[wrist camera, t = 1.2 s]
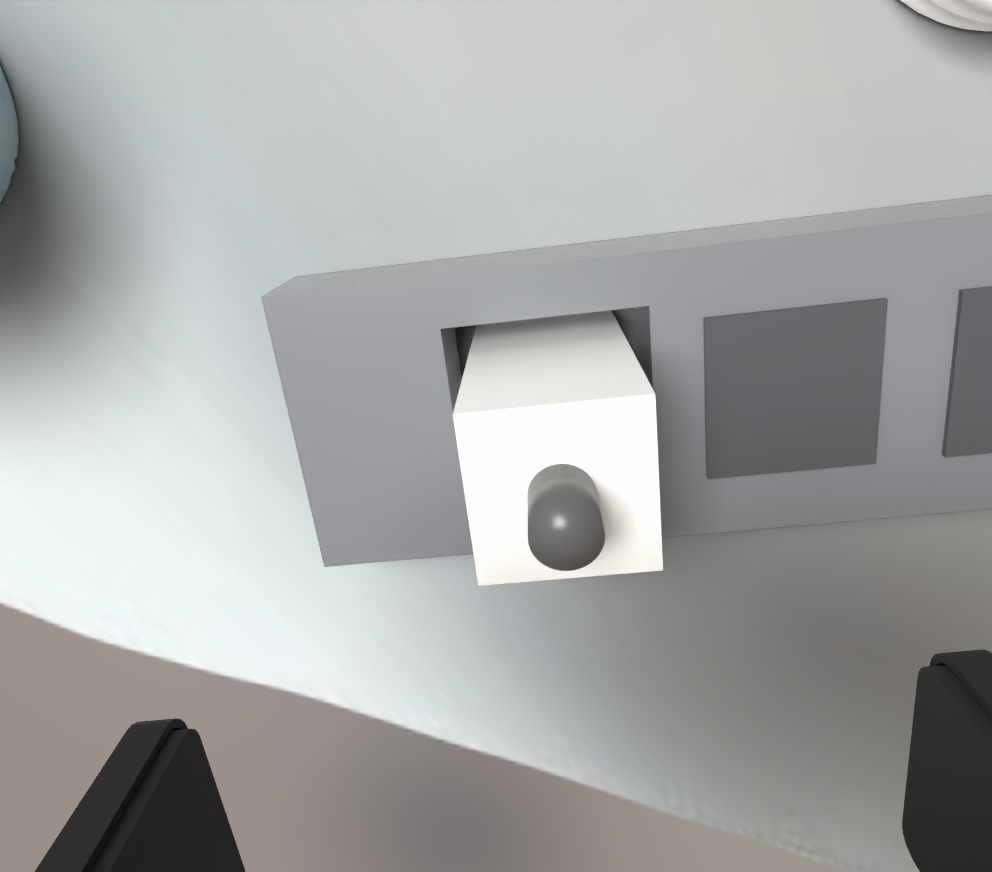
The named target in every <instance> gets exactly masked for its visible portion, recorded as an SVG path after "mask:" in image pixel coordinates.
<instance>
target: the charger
mask: <svg viewBox="0 0 992 872" xmlns="http://www.w3.org/2000/svg"><path fill="white" fill-rule="evenodd" d="M453 420H454V427H455V433H456V440H457V447H458V453H459V460H460V467H461V473H462V480H463V487H464V494H465V500H466V507H467V514H468V520H469V527H470V534H471V540H472V547H473V554H474V560H475V567H476V574H477V580H478V586H482V585H494V584H506V583H518V582H530V581H542V580H554V579H566V578H578V577H590V576H602V575H614V574H626V573H638V572H650V571H662V570H663V557H662V534H661V512H660V489H659V466H658V444H657V421H656V398H655V392H654V390H653V389H652V387H651V385H650V383H649V381H648V379H647V377H646V375H645V373H644V371H643V370H642V368H641V366H640V364H639V362H638V360H637V358H636V356H635V354H634V352H633V350H632V349H631V347H630V345H629V343H628V341H627V339H626V337H625V335H624V333H623V331H622V330H621V328H620V326H619V324H618V322H617V320H616V318H615V316H614V314H613V312H612V311H611V310H608V311H599V312H590V313H581V314H572V315H562V316H553V317H544V318H535V319H526V320H517V321H508V322H499V323H490V324H481V325H476V328H475V332H474V336H473V339H472V343H471V347H470V351H469V355H468V358H467V362H466V366H465V370H464V374H463V377H462V381H461V385H460V389H459V392H458V396H457V400H456V404H455V408H454V411H453Z"/></svg>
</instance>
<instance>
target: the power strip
mask: <svg viewBox="0 0 992 872" xmlns="http://www.w3.org/2000/svg"><path fill="white" fill-rule="evenodd" d="M261 299H262V303H263V307H264V311H265V316H266V320H267V324H268V328H269V333H270V337H271V341H272V345H273V350H274V354H275V358H276V363H277V367H278V371H279V375H280V380H281V384H282V388H283V392H284V397H285V401H286V405H287V409H288V414H289V418H290V422H291V426H292V431H293V435H294V439H295V443H296V448H297V452H298V456H299V461H300V465H301V469H302V473H303V478H304V482H305V486H306V490H307V495H308V499H309V503H310V507H311V512H312V516H313V520H314V524H315V529H316V533H317V537H318V541H319V546H320V550H321V554H322V559H323V563H324V567H328V566H340V565H351V564H363V563H374V562H386V561H397V560H409V559H421V558H432V557H444V556H455V555H467V554H473V547H472V540H471V534H470V527H469V520H468V514H467V507H466V500H465V494H464V487H463V480H462V473H461V467H460V460H459V453H458V447H457V440H456V433H455V427H454V420H453V411H454V408H455V404H456V400H457V396H458V392H459V389H460V385H461V381H462V376H461V369H460V362H459V355H458V348H457V341H456V334H455V327H463V326H472V325H481V324H490V323H499V322H508V321H517V320H526V319H535V318H544V317H553V316H562V315H572V314H581V313H590V312H599V311H608V310H617V309H626V308H634V323H635V342H636V358H637V360H638V362H639V364H640V366H641V368H642V370H643V371H644V373H645V375H646V377H647V379H648V381H649V383H650V385H651V387H652V389H653V390H654V392H655V398H656V421H657V444H658V466H659V489H660V512H661V534H662V538H663V537H674V536H686V535H697V534H709V533H720V532H732V531H743V530H755V529H766V528H778V527H789V526H801V525H812V524H824V523H835V522H847V521H858V520H870V519H882V518H893V517H905V516H916V515H928V514H939V513H951V512H962V511H974V510H985V509H992V195H986V196H977V197H969V198H960V199H952V200H943V201H935V202H926V203H918V204H909V205H901V206H892V207H884V208H875V209H867V210H858V211H850V212H841V213H833V214H824V215H816V216H807V217H799V218H790V219H782V220H773V221H765V222H756V223H748V224H739V225H731V226H722V227H714V228H705V229H697V230H688V231H680V232H671V233H663V234H654V235H646V236H637V237H629V238H620V239H612V240H603V241H595V242H586V243H578V244H569V245H561V246H552V247H544V248H535V249H527V250H518V251H510V252H501V253H493V254H484V255H476V256H467V257H459V258H450V259H442V260H433V261H425V262H416V263H408V264H399V265H391V266H382V267H374V268H365V269H357V270H348V271H340V272H331V273H323V274H314V275H306V276H297V277H295V278H293V279H291V280H289V281H288V282H286V283H284V284H283V285H281V286H279V287H277V288H276V289H274V290H272V291H270V292H269V293H267V294H265V295H264V296H262V297H261Z"/></svg>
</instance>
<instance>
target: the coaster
mask: <svg viewBox="0 0 992 872" xmlns="http://www.w3.org/2000/svg"><path fill="white" fill-rule="evenodd" d="M900 1H902V2H903V3H905V4H906V5H908V6H909V7H911V8H912V9H913V10H915V11H916V12H918V13H920V14H923V15H925V16H927V17H929V18H931V19H933V20H935V21H937V22H940V23H943V24H946V25H950V26H954V27H957V28H961V29H968V30H978V31H992V0H900Z"/></svg>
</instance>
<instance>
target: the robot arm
mask: <svg viewBox="0 0 992 872" xmlns="http://www.w3.org/2000/svg"><path fill="white" fill-rule="evenodd" d="M902 828H903V835H904V838H905V842H906V845H907V848H908V850H909V853H910V855H911V857H912V859H913V860H914V862H915V864H916V866H917V867H918V869H919V871H920V872H992V653H991V652H989V651H986V650H974V651H962V652H950V653H939V654H936V655H934V656H933V658H932V659H931V663H930V666H929V667H923V668H921V669H920V671H919V673H918V679H917V688H916V698H915V707H914V717H913V726H912V735H911V745H910V754H909V764H908V773H907V782H906V792H905V801H904V811H903V820H902ZM35 872H245V869H244V866H243V863H242V860H241V857H240V854H239V851H238V848H237V845H236V842H235V839H234V836H233V833H232V830H231V827H230V824H229V822H228V818H227V815H226V812H225V809H224V807H223V804H222V801H221V798H220V795H219V792H218V789H217V786H216V783H215V780H214V777H213V774H212V771H211V768H210V765H209V762H208V759H207V756H206V753H205V750H204V747H203V745H202V741H201V738H200V736H199V734H198V732H197V731H196V730H195V729H188V728H187V726H186V724H185V723H184V722H183V721H182V720H181V719H167V720H156V721H143V722H137V723H135V724H133V725H131V727H130V728H129V729H128V730H127V731H126V733H125V734H124V736H123V737H122V739H121V740H120V742H119V743H118V745H117V747H116V748H115V750H114V751H113V753H112V754H111V756H110V757H109V759H108V760H107V762H106V763H105V765H104V766H103V768H102V769H101V771H100V773H99V774H98V776H97V777H96V779H95V780H94V782H93V783H92V785H91V786H90V788H89V789H88V791H87V792H86V794H85V795H84V797H83V799H82V800H81V802H80V803H79V805H78V806H77V808H76V809H75V811H74V812H73V814H72V815H71V817H70V818H69V820H68V822H67V823H66V825H65V826H64V828H63V829H62V831H61V832H60V834H59V835H58V837H57V838H56V840H55V841H54V843H53V845H52V846H51V848H50V849H49V851H48V852H47V854H46V855H45V857H44V858H43V860H42V861H41V863H40V864H39V866H38V868H37V869H36V871H35Z"/></svg>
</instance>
